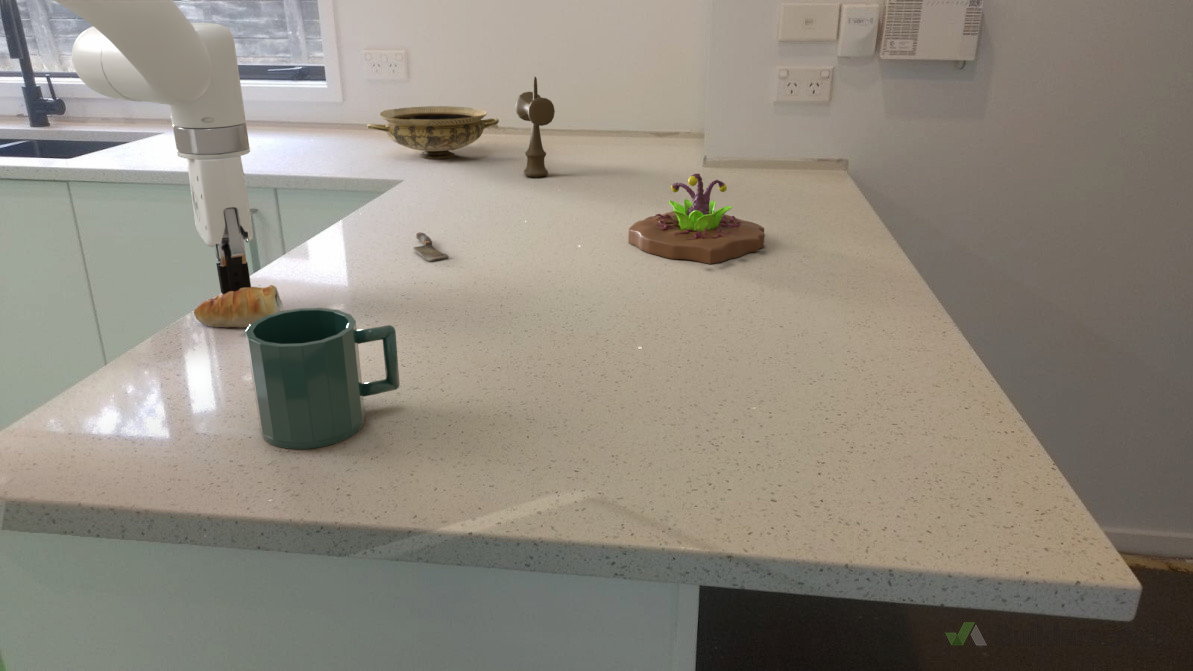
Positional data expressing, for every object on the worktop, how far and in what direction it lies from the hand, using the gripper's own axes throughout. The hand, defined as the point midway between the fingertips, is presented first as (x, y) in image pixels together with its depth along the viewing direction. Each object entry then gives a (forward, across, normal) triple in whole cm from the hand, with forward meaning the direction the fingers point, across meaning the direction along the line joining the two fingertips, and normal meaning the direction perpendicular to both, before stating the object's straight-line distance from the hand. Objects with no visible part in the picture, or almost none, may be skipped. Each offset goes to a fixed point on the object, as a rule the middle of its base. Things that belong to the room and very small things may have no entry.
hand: (236, 294), depth 101 cm
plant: (+2, +5, +66) cm, 67 cm away
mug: (+2, +34, +1) cm, 34 cm away
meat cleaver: (+2, -11, +29) cm, 31 cm away
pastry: (+2, +5, 0) cm, 5 cm away
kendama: (+2, -51, +69) cm, 85 cm away
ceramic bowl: (+2, -81, +59) cm, 100 cm away
